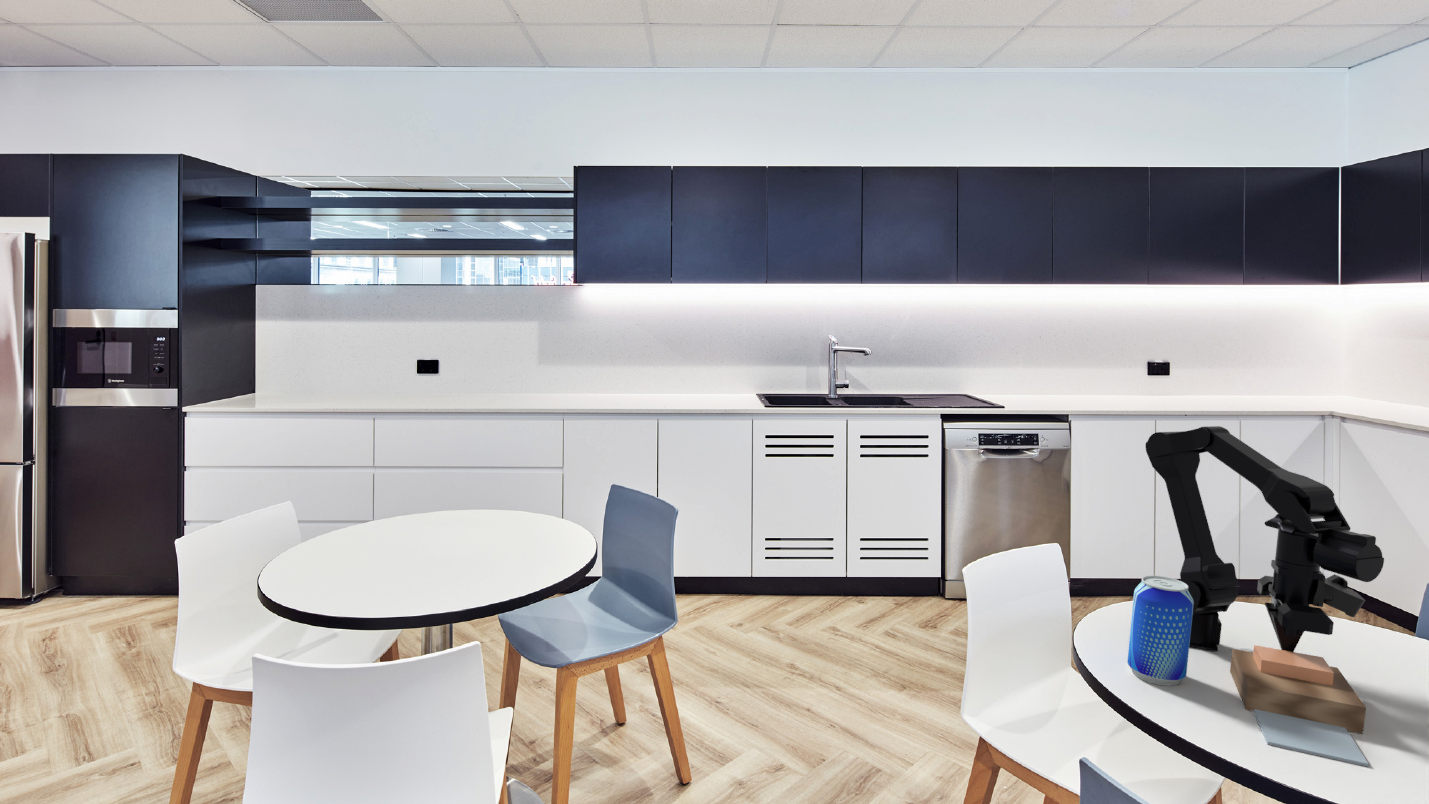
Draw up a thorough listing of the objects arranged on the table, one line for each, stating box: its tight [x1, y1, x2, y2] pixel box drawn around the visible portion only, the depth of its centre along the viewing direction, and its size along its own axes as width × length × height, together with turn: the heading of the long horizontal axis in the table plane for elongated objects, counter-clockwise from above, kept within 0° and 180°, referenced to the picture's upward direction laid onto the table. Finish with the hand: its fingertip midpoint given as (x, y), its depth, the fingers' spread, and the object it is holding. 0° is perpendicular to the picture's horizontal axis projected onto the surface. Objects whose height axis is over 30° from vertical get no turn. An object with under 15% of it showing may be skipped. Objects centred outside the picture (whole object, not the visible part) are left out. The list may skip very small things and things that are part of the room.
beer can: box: [1127, 575, 1194, 687], centre depth 124 cm, size 8×8×16 cm
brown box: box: [1229, 648, 1367, 735], centre depth 118 cm, size 14×14×4 cm
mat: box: [1253, 709, 1369, 767], centre depth 107 cm, size 11×10×1 cm
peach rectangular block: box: [1252, 644, 1334, 685], centre depth 119 cm, size 9×6×2 cm, turn 64°
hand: (1287, 654), depth 123 cm, fingers closed
